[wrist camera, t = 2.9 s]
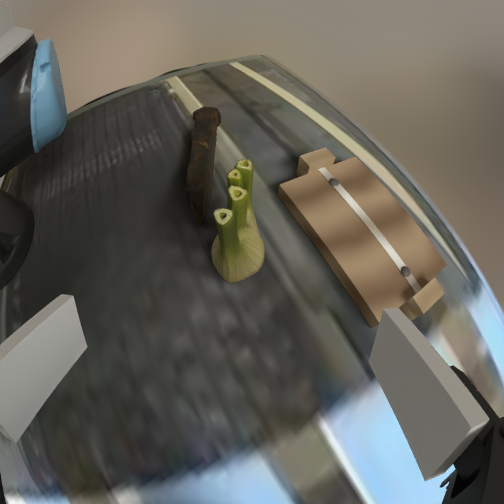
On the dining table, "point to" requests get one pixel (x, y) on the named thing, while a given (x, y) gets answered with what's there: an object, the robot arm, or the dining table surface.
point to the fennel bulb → (238, 229)
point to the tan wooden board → (364, 236)
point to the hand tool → (202, 160)
